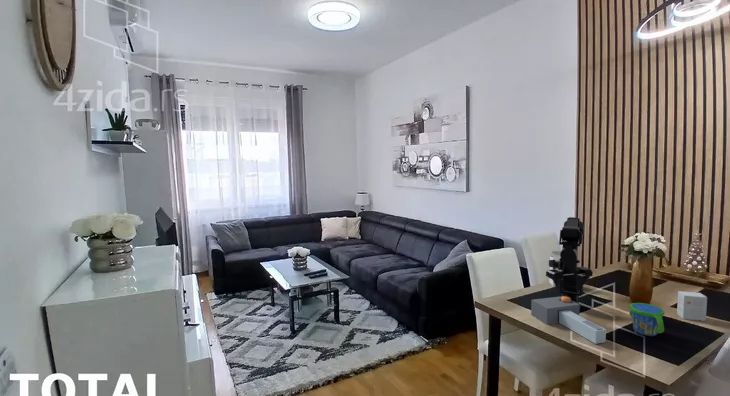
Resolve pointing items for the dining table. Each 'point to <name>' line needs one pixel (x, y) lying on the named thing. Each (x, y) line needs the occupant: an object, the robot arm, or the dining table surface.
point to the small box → (692, 306)
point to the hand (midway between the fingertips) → (568, 292)
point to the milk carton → (556, 257)
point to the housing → (551, 309)
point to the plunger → (565, 299)
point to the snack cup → (647, 319)
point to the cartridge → (582, 326)
